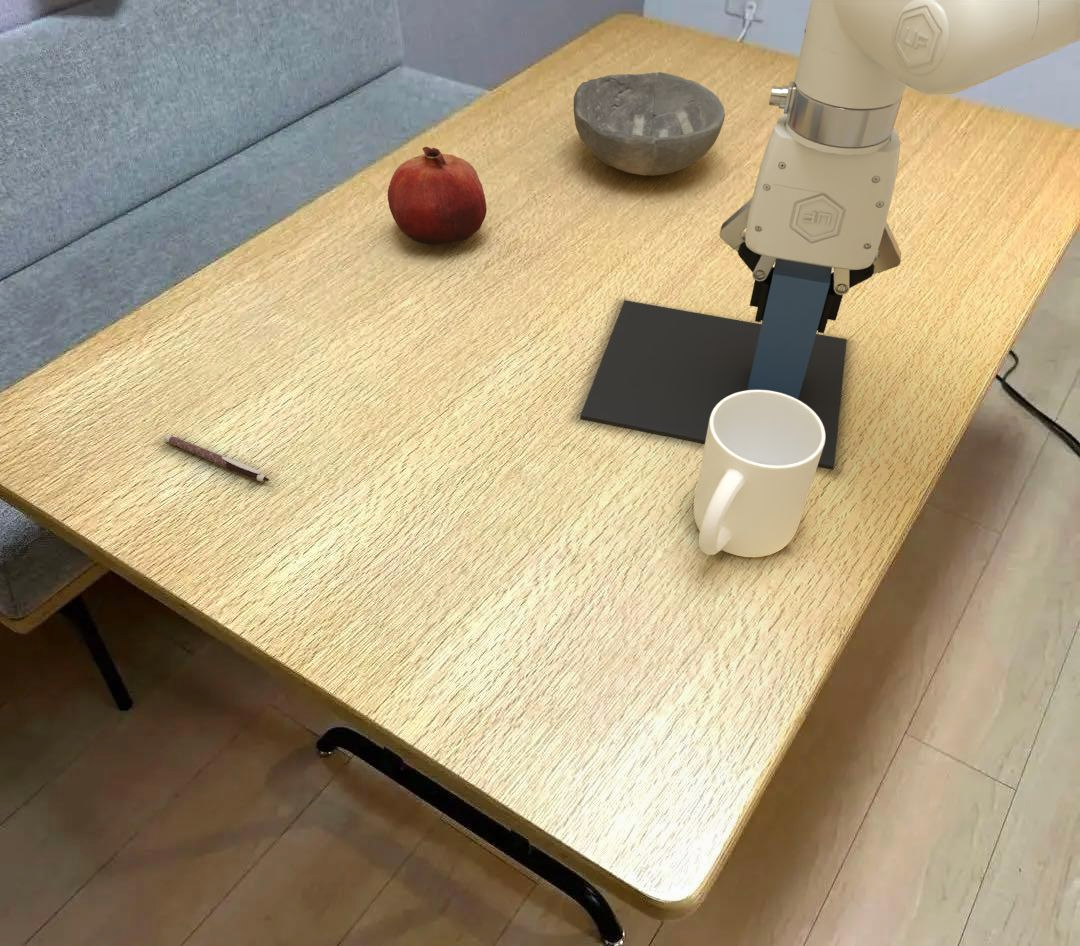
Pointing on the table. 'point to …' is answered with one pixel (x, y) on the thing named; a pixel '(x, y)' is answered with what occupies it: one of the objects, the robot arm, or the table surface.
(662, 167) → the bowl
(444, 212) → the fruit
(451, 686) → the table surface
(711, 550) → the mug
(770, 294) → the block
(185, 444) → the pen
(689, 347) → the mat
